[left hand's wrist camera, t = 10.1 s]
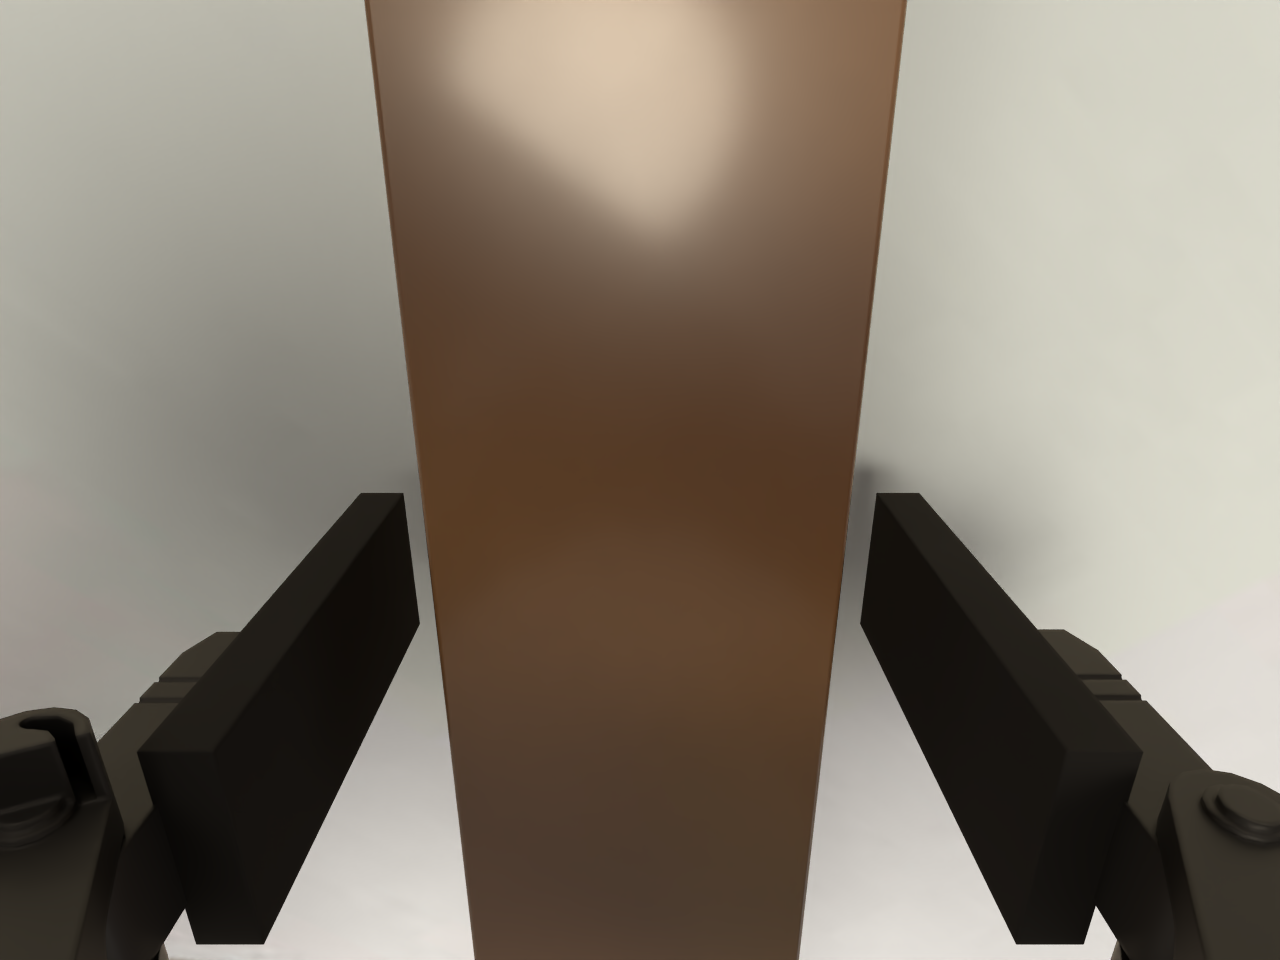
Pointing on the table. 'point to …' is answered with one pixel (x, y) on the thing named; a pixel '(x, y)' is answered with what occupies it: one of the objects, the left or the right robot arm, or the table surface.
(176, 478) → the table surface
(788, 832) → the post
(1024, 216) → the table surface
